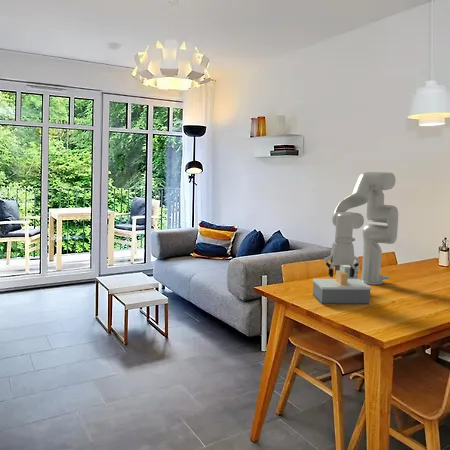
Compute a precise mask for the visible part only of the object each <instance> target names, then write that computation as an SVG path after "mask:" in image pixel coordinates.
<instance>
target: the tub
mask: <svg viewBox="0 0 450 450" xmlns="http://www.w3.org/2000/svg"><path fill="white" fill-rule="evenodd" d="M312 282H313V281H312ZM312 284H313V285H312V296H313V297H314V298H315V299H316V300H317V302H319V303H320V304H321V305H370V301H371V300H370V299H371V290H334V289H321V288H320V287H319V286H318V285H317V284H316V283H315V282H313V283H312Z"/></svg>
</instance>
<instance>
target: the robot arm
mask: <svg viewBox="0 0 450 450" xmlns="http://www.w3.org/2000/svg"><path fill="white" fill-rule="evenodd" d="M395 184H396V175H395V174H394V173H393V172H384V171H383V172H381V171H367V172H362V173H361V174H359V176H358V178H357V180H356V182H355V185H354V188H353V189H352V192H351V194H350V195H347V196H346V197H345V198H344V199H341V200H340V202H339V203H337V206H336V207H335V209H334V212H333V215H332V218H331V219H332V221H331V222H332V224H333V226H335V235H334V236H335V237H334V242H333V243H332V245H331V250H330V255H328V256H326V257H324V258H323V262H324V264H325V266H327V268H328V276H329V277H330V278H334V269H333V268H334V267H335V266H340V265H350V266H351V268H350V277H352V278H353V276H354V272H355V269H356V267H359V265H360V263H361V261H362V265H361V266H362V269H361V277H358V279H359V280H361V281H362V282H364V283H365V284H367V285H372V286H373V285H374V286H376V285H382V284H383V283H384V281H383V280H389V279H390V275H385V274H381V272H382V271H381V269H382V255H383V251H382V248H381V245H380V244H387V245H393V244H396V241H397V240H398V239H397V238H398V227H399V210H398V208H397V207H396V206H395V205H392V204H385V194H384V192H383V191H388V190H392V189H393V188H395ZM365 204H366V219H367V220H368V221H369V222H371V224H365V225H364V222H365V218H364V216H363V215H362V213H359V212H353V211H352V212H351V211H349V212H348V210H350V209H355V208H357V207H360V206H364V205H365ZM372 222H373V223H372ZM374 223H375V224H374ZM376 223H382V224H376ZM383 224H386V225H383ZM363 225H364V226H363ZM362 227H363V228H362ZM360 228H362V239H363V240H362V241H363V243H362V244H363V250H362V251H363V252H362V259H360V258H359V257H357V256H355V248H354V243H353V242H355V241H356V238H355V237H353V231H354V230H353V229H356V230H358V229H360ZM329 261H330V263H329Z"/></svg>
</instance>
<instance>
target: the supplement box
mask: <svg viewBox="0 0 450 450" xmlns="http://www.w3.org/2000/svg"><path fill="white" fill-rule="evenodd" d="M350 268H351V266H350V265H339V270H342V271H344V272H345V273H346V274H348V279H359V269H360V268H359V266H357V267H356V269H355V272H354V276H353V278H352V277H350Z"/></svg>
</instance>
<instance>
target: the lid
mask: <svg viewBox="0 0 450 450" xmlns="http://www.w3.org/2000/svg"><path fill="white" fill-rule="evenodd" d="M312 282H315V283H316V284H317V285H318V286H319V287H320V288H321V289H334V290H370V291H371V290H372V287H371V286H370V284H365V283H364V282H362V281H361V280H359V278H358V279H348V274H346V273H345V272H344V271H342V270H340V269H339V270H338V269H337V270H335V277H334V278H312Z"/></svg>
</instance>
